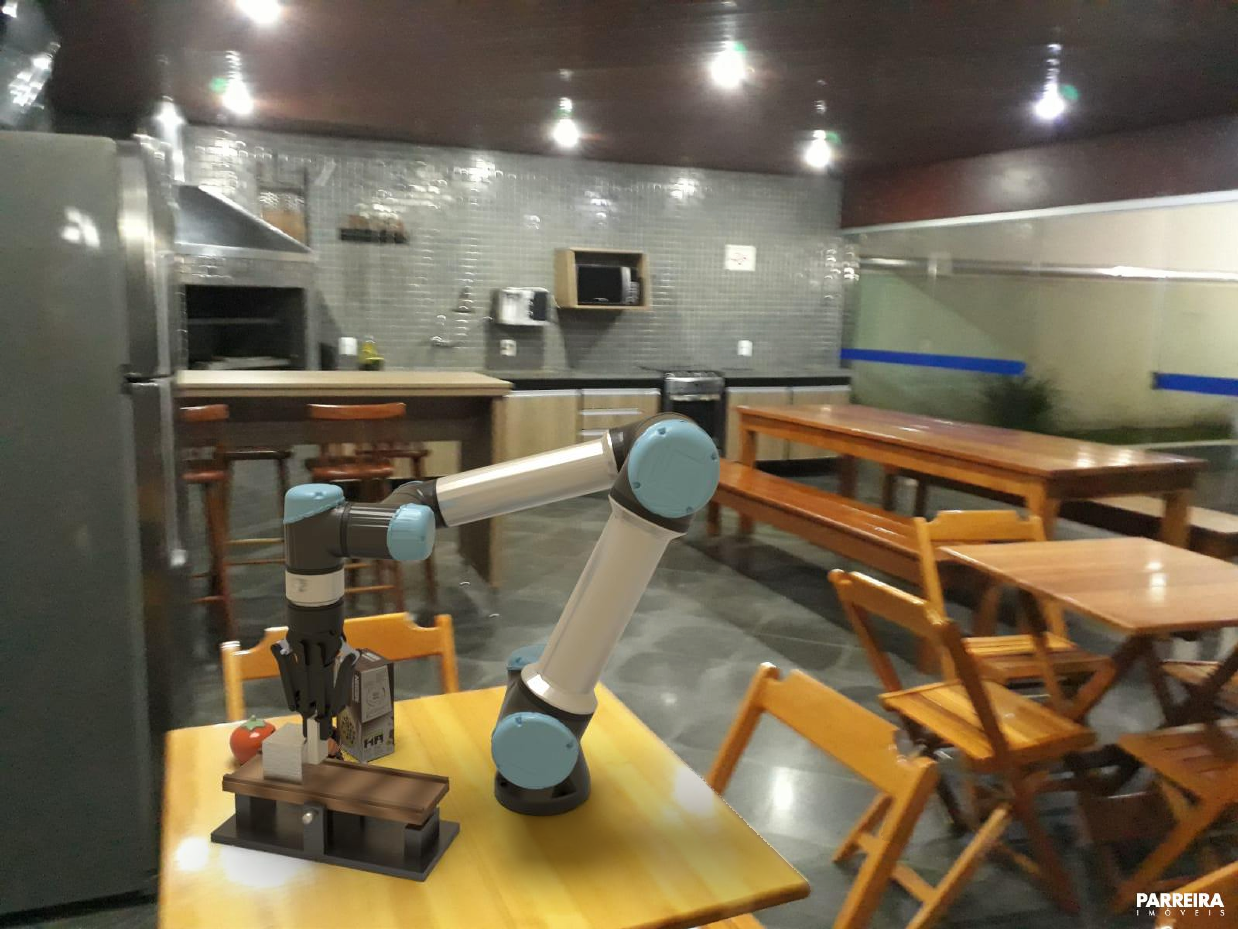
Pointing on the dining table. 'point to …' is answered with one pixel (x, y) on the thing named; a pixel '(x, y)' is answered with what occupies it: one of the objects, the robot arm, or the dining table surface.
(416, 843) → the pivot stand
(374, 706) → the coffee box
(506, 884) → the dining table surface
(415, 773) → the seesaw beam
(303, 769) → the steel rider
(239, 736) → the tomato
